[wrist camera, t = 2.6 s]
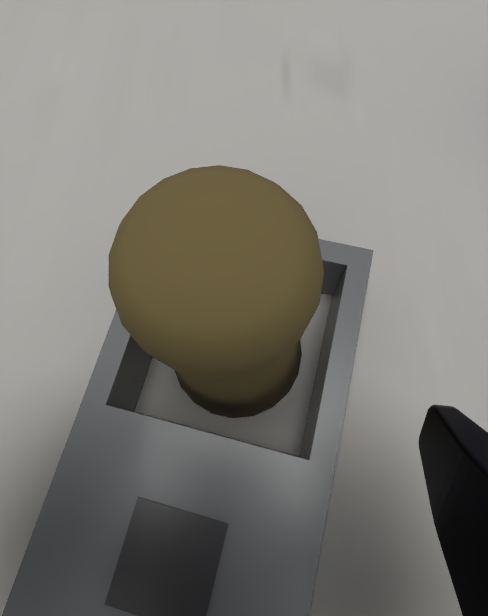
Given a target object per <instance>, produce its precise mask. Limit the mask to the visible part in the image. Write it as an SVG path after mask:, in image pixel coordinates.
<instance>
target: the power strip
mask: <svg viewBox="0 0 488 616" xmlns="http://www.w3.org/2000/svg"><path fill="white" fill-rule="evenodd" d="M318 240H319V245H320V251H321V256H322V262H323V267H324V277H323V283H322V289H321V293H324V294H329V295H332V299H331V304H330V309H329V314H328V319H327V324H326V329H325V334H324V339H323V344H322V349H321V354H320V359H319V363H318V368H317V373H316V378H315V383H314V388H313V393H312V398H311V403H310V408H309V413H308V418H307V423H306V428H305V433H304V438H303V443H302V448H301V452H300V457H299V456H295V455H291V454H288V453H284V452H280V451H277V450H273V449H269V448H266V447H262V446H258V445H255V444H251V443H247V442H244V441H240V440H236V439H233V438H229V437H225V436H222V435H218V434H214V433H211V432H207V431H203V430H200V429H196V428H192V427H189V426H185V425H181V424H178V423H174V422H170V421H167V420H163V419H159V418H156V417H152V416H149V415H145V414H141V413H138V412H134V409H135V406H136V403H137V400H138V397H139V394H140V391H141V388H142V385H143V382H144V379H145V376H146V373H147V370H148V367H149V364H150V361H151V358H152V356H151V355H149V354H148V353H146V352H145V351H143V350H142V348H141V347H140V346H139V345H138V344H137V342H136V341H135V340H134V339H133V338H132V336H131V335H130V334H129V333H128V331H127V330H126V329H125V328H124V327H123V325H122V323H121V321H120V318H119V315H118V312H117V309H116V312H115V314H114V317H113V320H112V322H111V325H110V328H109V331H108V333H107V336H106V339H105V341H104V344H103V347H102V349H101V352H100V355H99V357H98V360H97V363H96V365H95V368H94V371H93V373H92V376H91V379H90V381H89V384H88V387H87V389H86V392H85V395H84V397H83V400H82V403H81V405H80V408H79V411H78V413H77V416H76V419H75V421H74V424H73V427H72V429H71V432H70V435H69V437H68V440H67V443H66V446H65V448H64V451H63V454H62V456H61V459H60V462H59V464H58V467H57V470H56V472H55V475H54V478H53V480H52V483H51V486H50V488H49V491H48V494H47V496H46V499H45V502H44V504H43V507H42V510H41V512H40V515H39V518H38V520H37V523H36V526H35V528H34V531H33V534H32V536H31V539H30V542H29V544H28V547H27V550H26V552H25V555H24V558H23V561H22V563H21V566H20V569H19V571H18V574H17V577H16V579H15V582H14V585H13V587H12V590H11V593H10V595H9V598H8V601H7V603H6V606H5V609H4V611H3V614H2V616H309V615H310V609H311V603H312V597H313V592H314V586H315V580H316V575H317V569H318V563H319V557H320V552H321V546H322V540H323V535H324V529H325V523H326V518H327V512H328V506H329V500H330V495H331V489H332V483H333V478H334V472H335V466H336V461H337V455H338V449H339V443H340V438H341V432H342V426H343V421H344V415H345V409H346V403H347V398H348V392H349V386H350V381H351V375H352V369H353V364H354V358H355V352H356V346H357V341H358V335H359V329H360V324H361V318H362V312H363V306H364V301H365V295H366V289H367V284H368V278H369V272H370V267H371V261H372V255H373V250H369V249H364V248H359V247H355V246H350V245H345V244H340V243H336V242H331V241H326V240H321V239H318Z"/></svg>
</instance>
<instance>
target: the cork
mask: <svg viewBox="0 0 488 616" xmlns="http://www.w3.org/2000/svg"><path fill="white" fill-rule="evenodd" d="M323 277H324V267H323V262H322V256H321V251H320V245H319V240H318V235H317V232H316V230H315V228H314V226H313V225H312V223H311V221H310V219H309V218H308V216H307V214H306V212H305V211H304V209H303V207H302V206H301V205H300V204H299V203H298V202H297V201H296V200H295V199H294V198H292V197H291V196H290V195H289V194H288V193H287V192H286V191H285V190H284V189H282V188H281V187H280V186H279V185H277V184H276V183H274V182H273V181H270V180H268V179H266V178H264V177H262V176H260V175H257V174H255V173H253V172H251V171H249V170H245V169H239V168H232V167H226V166H210V167H201V168H191V169H188V170H186V171H183V172H180V173H178V174H175V175H173V176H170V177H168V178H165V179H163V180H161V181H160V182H159V183H157V184H156V185H155V186H153V187H152V188H151V189H149V190H148V191H147V192H145V193H144V194H143V195H141V196H140V197H139V199H138V200H137V201H136V203H135V204H134V205H133V207H132V208H131V209H130V211H129V212H128V213H127V215H126V216H125V217H124V219H123V220H122V222H121V223H120V225H119V227H118V230H117V233H116V236H115V239H114V242H113V245H112V247H111V250H110V253H109V288H110V292H111V295H112V298H113V301H114V304H115V307H116V309H117V312H118V315H119V318H120V321H121V323H122V325H123V327H124V328H125V329H126V330H127V331H128V333H129V334H130V335H131V336H132V338H133V339H134V340H135V341H136V342H137V344H138V345H139V346H140V347H141V348H142V350H143V351H145V352H146V353H148V354H149V355H151V356H152V357H154V358H156V359H157V360H159V361H161V362H162V363H164V364H166V365H167V366H169V367H171V368H172V369H174V370H175V372H176V375H177V377H178V380H179V382H180V385H181V387H182V388H183V390H184V391H185V392H186V393H187V394H188V396H189V397H190V398H191V399H192V400H193V402H194V403H196V404H197V405H199V406H201V407H202V408H204V409H206V410H207V411H209V412H211V413H212V414H217V415H221V416H226V417H231V418H237V417H246V416H254V415H256V414H259V413H261V412H263V411H265V410H267V409H269V408H272V407H273V406H275V405H276V404H277V403H278V402H279V401H280V400H281V399H282V398H283V397H284V396H285V395H286V394H287V393H288V392H289V390H290V389H291V387H292V385H293V383H294V381H295V379H296V377H297V376H298V373H299V367H300V361H301V355H302V353H301V346H300V338H301V336H302V335H303V333H304V331H305V329H306V327H307V325H308V324H309V322H310V320H311V318H312V316H313V315H314V313H315V311H316V309H317V307H318V305H319V302H320V296H321V289H322V283H323Z"/></svg>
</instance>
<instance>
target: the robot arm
mask: <svg viewBox="0 0 488 616" xmlns="http://www.w3.org/2000/svg"><path fill="white" fill-rule="evenodd" d="M419 450H420V455H421V460H422V465H423V470H424V475H425V480H426V485H427V490H428V495H429V500H430V505H431V510H432V515H433V519H434V524H435V527H436V531H437V534H438V538H439V541H440V544H441V547H442V551H443V554H444V557H445V560H446V563H447V567H448V570H449V573H450V576H451V579H452V582H453V586H454V589H455V592H456V595H457V598H458V602H459V605H460V608H461V611H462V614H463V616H488V432H486V431H485V430H484V429H482V428H481V427H480V426H478V425H477V424H476V423H475V422H473V421H472V420H471V419H469V418H468V417H467V416H465V415H464V414H463V413H461V412H460V411H459V410H458V409H456V408H454V407H452V406H442V405H432V406H430V408H429V409H428V412H427V415H426V418H425V421H424V424H423V427H422V430H421V433H420V436H419Z"/></svg>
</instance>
